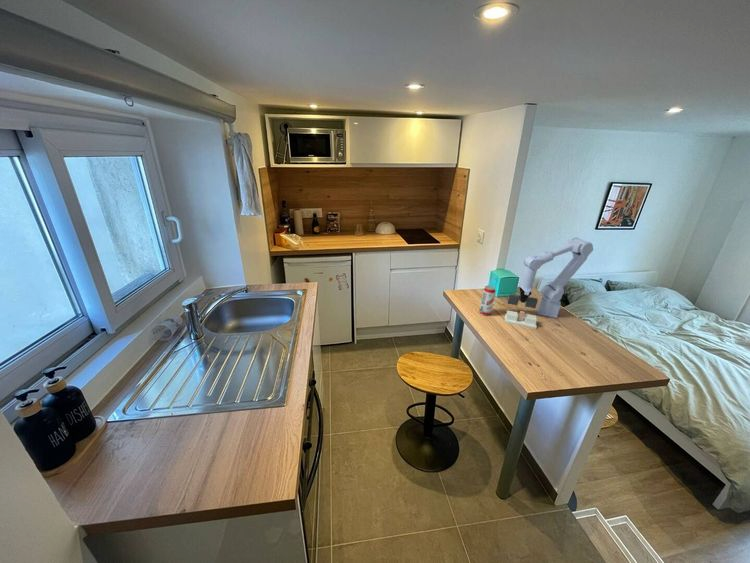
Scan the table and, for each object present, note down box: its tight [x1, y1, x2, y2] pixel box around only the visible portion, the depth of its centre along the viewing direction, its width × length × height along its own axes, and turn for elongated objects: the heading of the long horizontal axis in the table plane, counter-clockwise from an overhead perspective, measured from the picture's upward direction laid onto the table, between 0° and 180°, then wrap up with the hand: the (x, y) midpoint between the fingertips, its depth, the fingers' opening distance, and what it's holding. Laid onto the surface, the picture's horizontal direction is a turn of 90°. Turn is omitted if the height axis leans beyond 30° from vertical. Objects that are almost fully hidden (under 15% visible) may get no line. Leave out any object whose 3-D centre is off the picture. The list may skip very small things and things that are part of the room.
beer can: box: [479, 285, 496, 316], centre depth 159 cm, size 6×6×16 cm
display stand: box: [504, 310, 537, 330], centre depth 153 cm, size 15×8×6 cm, turn 69°
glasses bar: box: [507, 293, 539, 309], centre depth 159 cm, size 14×2×5 cm, turn 69°
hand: (522, 301), depth 159 cm, fingers closed on glasses bar, 2 cm apart
